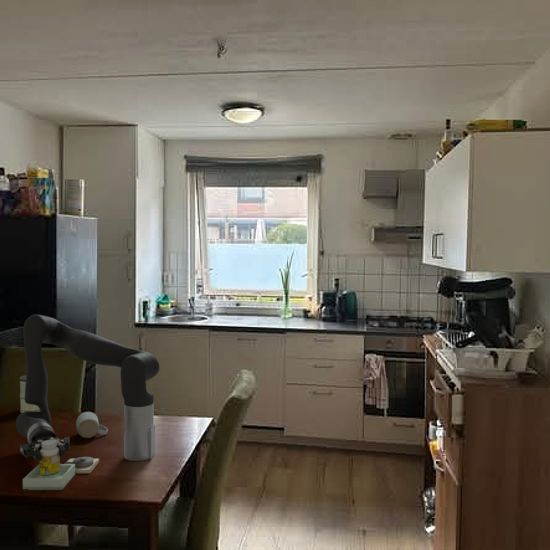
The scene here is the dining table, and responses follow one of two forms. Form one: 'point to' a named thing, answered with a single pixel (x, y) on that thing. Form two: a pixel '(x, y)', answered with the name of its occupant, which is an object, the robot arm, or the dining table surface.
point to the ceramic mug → (89, 425)
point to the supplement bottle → (49, 459)
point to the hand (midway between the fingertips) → (51, 455)
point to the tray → (49, 479)
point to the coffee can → (24, 406)
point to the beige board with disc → (83, 464)
